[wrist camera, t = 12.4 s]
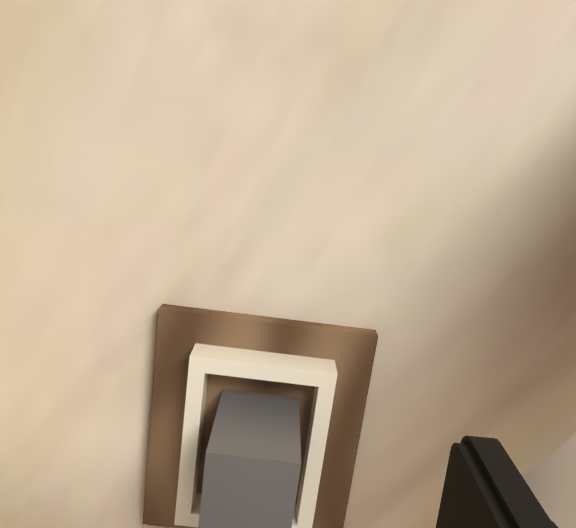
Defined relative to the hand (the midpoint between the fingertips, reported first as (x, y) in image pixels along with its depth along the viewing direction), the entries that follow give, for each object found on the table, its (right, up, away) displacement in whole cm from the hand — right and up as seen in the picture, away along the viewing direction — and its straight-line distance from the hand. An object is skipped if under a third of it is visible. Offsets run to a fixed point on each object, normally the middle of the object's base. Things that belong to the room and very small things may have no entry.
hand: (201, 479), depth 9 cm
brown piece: (-1, -7, +25) cm, 26 cm away
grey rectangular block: (-1, -7, +24) cm, 25 cm away
